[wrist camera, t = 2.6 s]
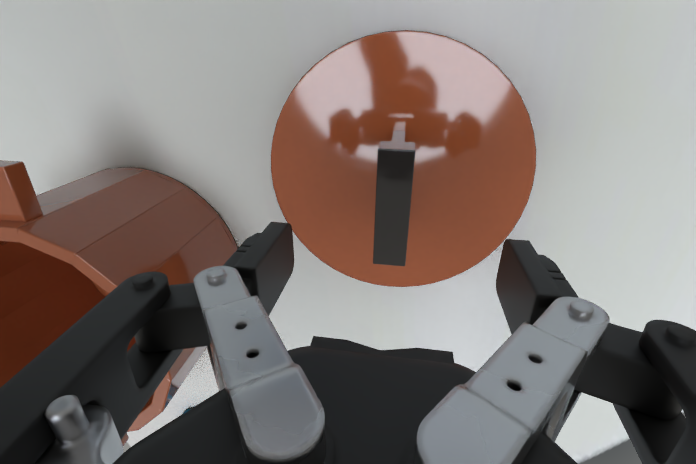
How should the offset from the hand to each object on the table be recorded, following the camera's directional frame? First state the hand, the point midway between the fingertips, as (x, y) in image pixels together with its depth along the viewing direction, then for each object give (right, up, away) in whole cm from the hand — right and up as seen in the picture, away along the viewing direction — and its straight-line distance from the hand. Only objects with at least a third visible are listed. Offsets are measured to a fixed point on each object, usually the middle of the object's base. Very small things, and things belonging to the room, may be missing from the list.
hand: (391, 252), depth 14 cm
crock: (-17, -1, +15) cm, 23 cm away
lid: (+1, +4, +9) cm, 10 cm away
